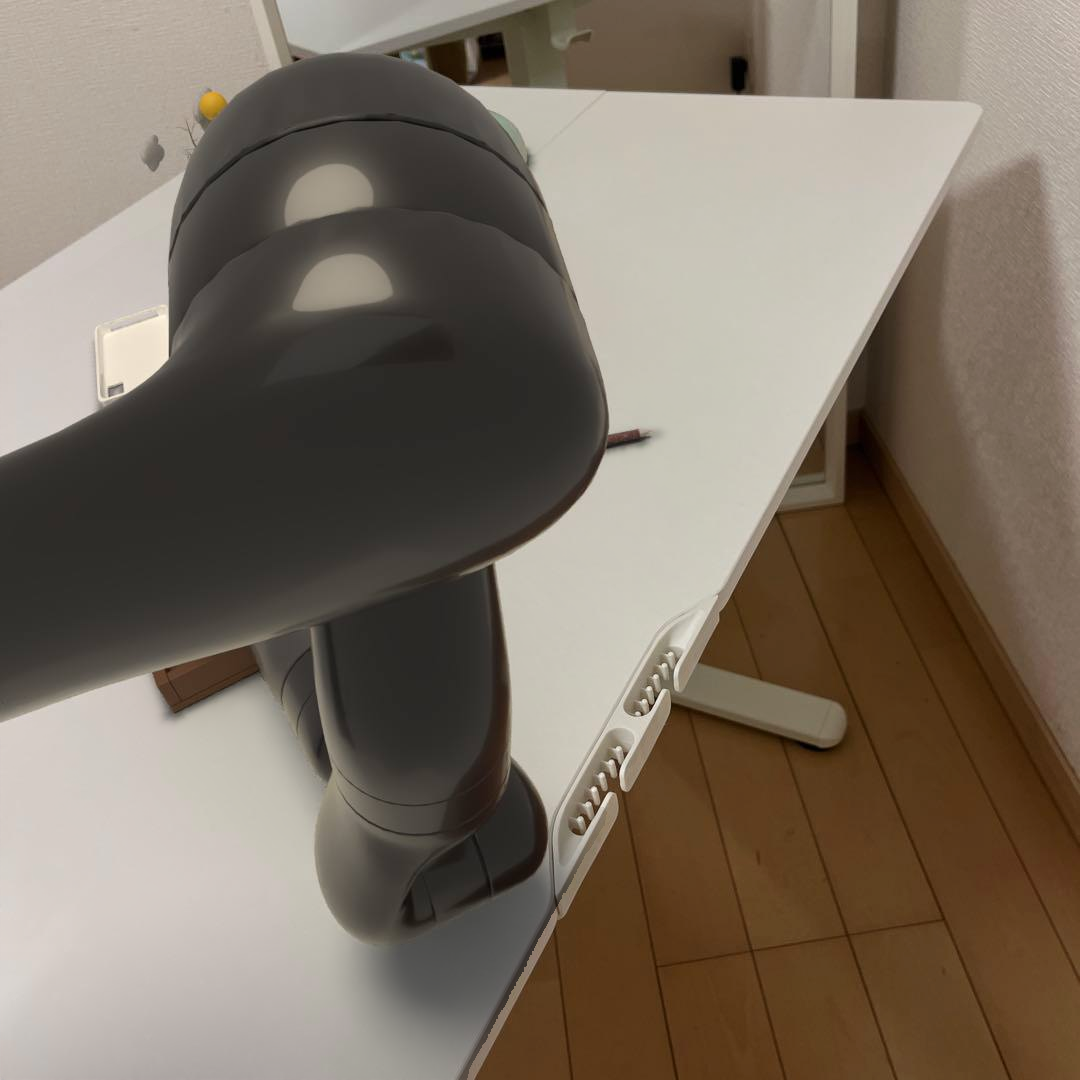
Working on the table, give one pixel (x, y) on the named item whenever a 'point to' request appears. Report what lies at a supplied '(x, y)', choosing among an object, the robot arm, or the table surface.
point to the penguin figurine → (203, 113)
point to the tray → (204, 676)
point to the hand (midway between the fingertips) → (239, 486)
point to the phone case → (130, 352)
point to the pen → (627, 435)
